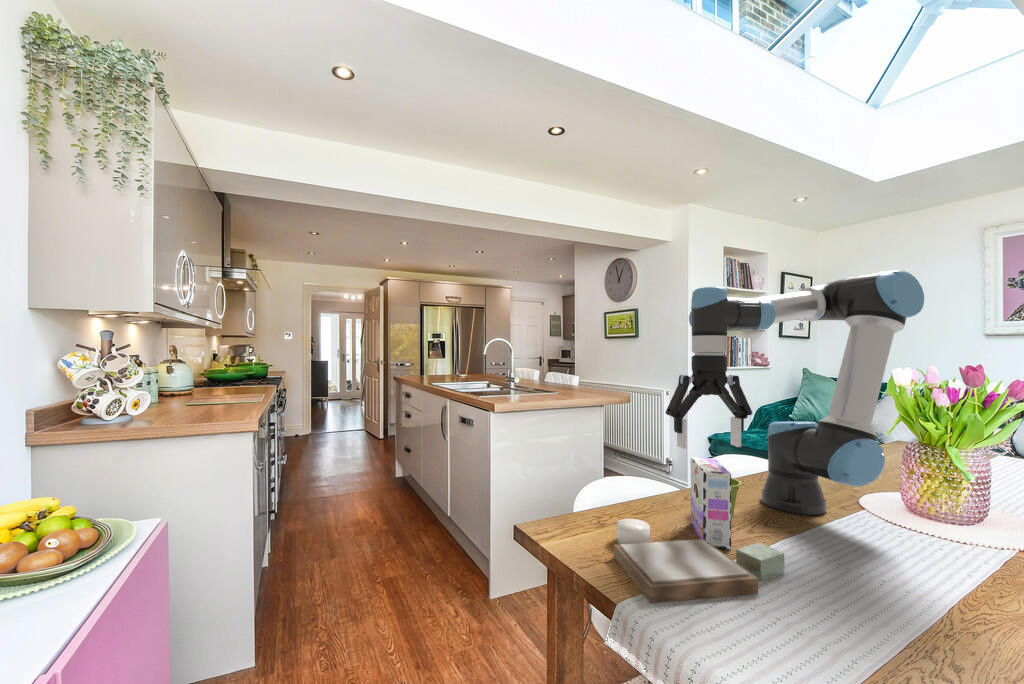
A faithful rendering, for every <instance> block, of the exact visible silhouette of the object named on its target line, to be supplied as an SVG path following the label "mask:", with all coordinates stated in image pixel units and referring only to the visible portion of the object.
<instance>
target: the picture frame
mask: <svg viewBox="0 0 1024 684" xmlns="http://www.w3.org/2000/svg"><path fill="white" fill-rule="evenodd" d="M613 558H614V559H615V561H616V562H617V563H618V565H620V567H621V568H622V569H623V571H624V572H625V573H626V574H627V576H628V577H629V578H630V579H631V581H632V582H633V583H634V584H635V586H636V587H637V588H638V590H640V591H641V593H642V594H643V595H644V596H645V598H646V599H647V600H648V602H649V603H650V604H653V603H664V602H675V601H686V600H687V601H688V600H700V599H710V598H711V597H713V598H721V597H720V596H724V597H734V596H735V597H736V596H743V595H758V594H759V580H758V578H757V577H755V576H754V575H753V574H751V573H750V572H749V571H747V570H746V569H744V568H743V567H742V566H740V565H739V564H738V563H736V560H733V559H732V558H730V557H729V556H728V555H727V554H725V553H724V552H722V551H721V550H720V549H719V548H716V547H714V546H713V545H711V544H710V543H709V542H707V541H706V540H705V539H700V538H698V539H681V540H679V539H678V540H666V541H665V540H664V541H650V542H647V543H631V544H618V543H617V544H613ZM711 599H712V598H711Z"/></svg>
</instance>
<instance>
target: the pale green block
mask: <svg viewBox="0 0 1024 684" xmlns="http://www.w3.org/2000/svg"><path fill="white" fill-rule="evenodd" d="M735 555H736V556H735V562H736V563H738V564H739V565H740V566H742V567H743V568H744V569H746V570H747V571H749V572H750V573H751V574H753V575H754V576H755V577H757V578H758V582H764V581H767V580H769V579H772V578H775V577H777V576H780V575H784V574H785V552H782V551H780V550H778V549H776V548H774V547H771V546H769V545H766V544H764V543H761V542H757V543H754V544H753V543H752V544H749V545H746V546H743V547H739V548H736V549H735Z"/></svg>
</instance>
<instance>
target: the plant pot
mask: <svg viewBox="0 0 1024 684" xmlns="http://www.w3.org/2000/svg"><path fill="white" fill-rule="evenodd" d="M741 484H742V482H741V481H740V480H739V479H736V478H733V477H731V518H732V517H734V513H735V506H736V500H737V497H738V496H737V495H738V491H739V488H740V487H741V486H742V485H741Z"/></svg>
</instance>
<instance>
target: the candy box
mask: <svg viewBox="0 0 1024 684" xmlns="http://www.w3.org/2000/svg"><path fill="white" fill-rule="evenodd" d="M731 478H732V472H730V471H729V470H728V469H727V468H725V467H724V465H722V464H721V463H720V462H719V461H718V460H717V459H715V458H712V457H711V458H710V457H693V456H691V457H690V514H691V515H690V518H691V519H690V522H691V523H690V524H691V525H692V527H693V530H694V531H695V533H696V534H697V537H698V539H705V540H706V541H707V542H709V543H710V544H711V545H713V546H714V547H716V548H717V549H724V550H732V517H731Z"/></svg>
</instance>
